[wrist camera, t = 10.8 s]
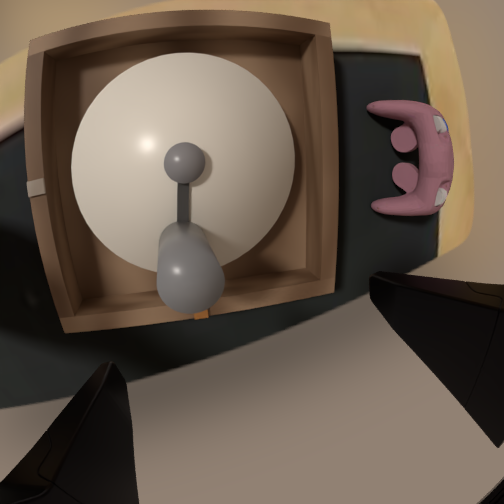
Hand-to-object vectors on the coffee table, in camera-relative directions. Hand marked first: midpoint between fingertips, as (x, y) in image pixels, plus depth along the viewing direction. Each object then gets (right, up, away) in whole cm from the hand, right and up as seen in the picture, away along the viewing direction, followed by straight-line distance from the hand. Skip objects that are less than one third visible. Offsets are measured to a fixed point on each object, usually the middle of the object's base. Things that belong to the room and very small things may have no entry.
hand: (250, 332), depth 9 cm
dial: (-4, +8, +9) cm, 13 cm away
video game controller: (+12, +11, +14) cm, 22 cm away
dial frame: (-5, +8, +10) cm, 14 cm away
